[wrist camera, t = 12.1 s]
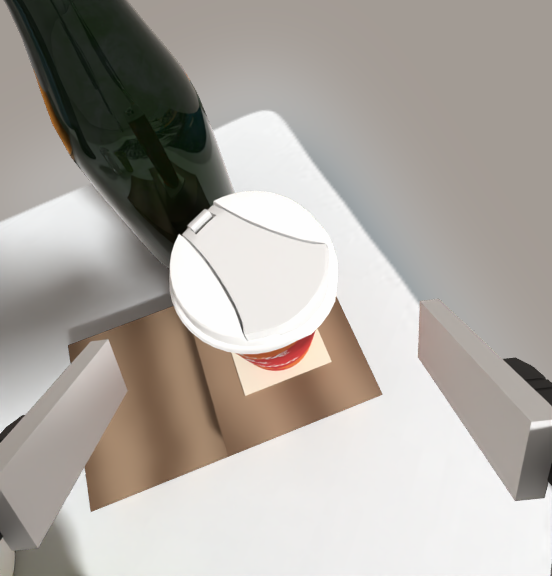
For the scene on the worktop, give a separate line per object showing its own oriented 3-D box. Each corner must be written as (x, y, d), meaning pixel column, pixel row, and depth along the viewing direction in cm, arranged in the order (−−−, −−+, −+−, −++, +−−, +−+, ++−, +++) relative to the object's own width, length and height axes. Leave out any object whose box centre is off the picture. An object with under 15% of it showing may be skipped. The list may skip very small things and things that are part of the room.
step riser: (111, 503, 30) (63, 522, 24) (87, 351, 35) (43, 337, 29) (369, 399, 31) (383, 394, 25) (309, 267, 36) (309, 238, 30)
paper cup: (208, 341, 28) (121, 268, 15) (271, 273, 30) (243, 154, 17) (282, 409, 26) (255, 393, 13) (346, 331, 27) (381, 245, 14)
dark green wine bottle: (137, 264, 38) (-554, -384, 8) (174, 187, 42) (-198, -475, 11) (226, 288, 36) (-221, -457, 6) (257, 205, 40) (86, -539, 9)
